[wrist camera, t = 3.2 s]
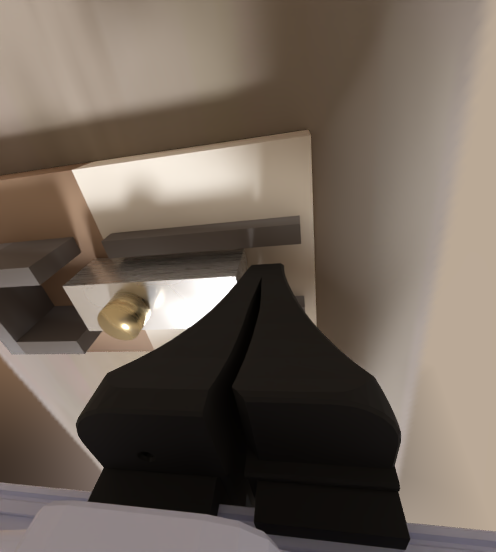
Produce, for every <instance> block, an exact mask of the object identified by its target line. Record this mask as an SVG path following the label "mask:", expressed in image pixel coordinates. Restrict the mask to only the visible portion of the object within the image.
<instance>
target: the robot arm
mask: <svg viewBox="0 0 496 552" xmlns="http://www.w3.org/2000/svg"><path fill="white" fill-rule="evenodd" d="M76 428H77V433H78V436H79V437H80V439H81V441H82V442H83V443H84V445H85V446H86V447H87V448H88V449H89V451H90V452H91V453H92V454H93V455H94V456H95V458H96V459H97V460H98V461H99V462H100V463H101V465H102V466H103V467H104V469H103V471H102V473H101V475H100V477H99V479H98V481H97V483H96V485H95V487H94V489H93V491H92V492H91V491H80V490H70V489H60V488H49V487H39V486H30V485H20V484H9V483H0V552H496V532H495V531H486V530H475V529H465V528H455V527H445V526H435V525H425V524H414V523H406V520H405V516H404V512H403V508H402V505H401V501H400V497H399V493H398V491H399V490H400V485H399V480H398V476H397V473H396V469H395V462H396V458H397V454H398V451H399V447H400V443H401V431H400V428H399V425H398V422H397V419H396V417H395V415H394V412H393V410H392V408H391V406H390V404H389V402H388V400H387V398H386V396H385V394H384V392H383V391H382V389H381V387H380V385H379V384H378V382H377V380H376V379H375V377H373V376H372V375H371V374H369V373H368V372H367V371H365V370H364V369H363V368H361V367H360V366H358V365H357V364H356V363H354V362H353V361H352V360H351V359H349V358H348V357H347V356H346V355H345V354H344V353H342V352H341V351H340V350H339V349H338V348H337V347H336V346H335V345H334V344H333V343H332V342H331V341H330V340H329V339H328V338H327V337H326V336H325V335H324V334H323V333H322V332H321V331H320V330H319V329H318V328H317V327H316V325H315V324H314V323H313V322H312V321H311V319H310V318H309V317H308V315H307V314H306V313H305V311H304V310H303V308H302V307H301V305H300V304H299V302H298V301H297V299H296V297H295V295H294V294H293V292H292V290H291V288H290V286H289V283H288V281H287V278H286V276H285V271H284V265H283V264H281V263H274V264H257V265H251V266H250V267H249V268H248V270H247V271H246V272H245V273H244V274H243V276H242V277H241V278H240V279H239V281H238V282H237V283H236V284H235V285H234V287H233V288H232V289H231V290H230V291H229V292H228V293H227V294H226V296H225V297H224V298H223V299H222V300H221V301H220V302H219V303H218V304H217V305H216V306H215V307H214V308H213V309H212V310H210V311H209V312H208V313H207V314H206V315H205V316H203V317H202V318H201V319H200V320H199V321H197V322H196V323H195V324H193V325H192V326H191V327H189V328H188V329H186V330H185V331H183V332H182V333H181V334H179V335H178V336H176V337H175V338H173V339H172V340H170V341H169V342H167V343H165V344H164V345H162V346H160V347H159V348H157V349H155V350H153V351H151V352H150V353H148V354H146V355H144V356H142V357H140V358H138V359H136V360H134V361H132V362H130V363H128V364H126V365H124V366H122V367H119V368H117V369H115V370H113V371H111V372H109V373H107V374H106V376H105V377H104V379H103V380H102V382H101V383H100V385H99V386H98V388H97V390H96V391H95V393H94V394H93V396H92V397H91V399H90V400H89V402H88V403H87V405H86V407H85V408H84V410H83V411H82V413H81V414H80V416H79V417H78V420H77V422H76Z"/></svg>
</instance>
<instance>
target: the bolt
mask: <svg viewBox="0 0 496 552" xmlns="http://www.w3.org/2000/svg"><path fill="white" fill-rule="evenodd" d="M247 270H248V266H247V260H246V254H245V249H244V248H241V249H228V250H215V251H202V252H189V253H176V254H162V255H149V256H136V257H123V258H110V259H109V257H108V258H95V259H93V260H92V261H91V262H90V263H89V264H88V265H86V266H85V267H84V268H83V269H82V270H81V271H79V272H78V273H77V274H76V275H75V276H74V277H73V278H71V279H70V280H69V281H68V282H67V283H66V284H65V285H63V288H64V290H65V291H66V293H67V295H68V296H69V298H70V300H71V301H72V303H73V305H74V306H75V308H76V310H77V311H78V313H79V315H80V316H81V318H82V320H83V321H84V323H85V325H86V326H87V328H88V330H89V331H104V332H105V333H107V334H108V335H110V336H111V337H113V338H116V339H119V340H126V341H127V340H133V339H135V338H136V337H137V336H138V335H139V333H140V331H141V330H160V329H188V328H189V327H191V326H192V325H193V324H195V323H196V322H197V321H199V320H200V319H201V318H202V317H203V316H205V315H206V314H207V313H208V312H209V311H210V310H212V309H213V308H214V307H215V306H216V305H217V304H218V303H219V302H220V301H221V300H222V299H223V298H224V297H225V296H226V294H227V293H228V292H229V291H230V290H231V289H232V288H233V287H234V285H235V284H236V283H237V282H238V281H239V279H240V278H241V277H242V276H243V274H244V273H245V272H246V271H247Z"/></svg>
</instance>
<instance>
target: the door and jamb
mask: <svg viewBox="0 0 496 552" xmlns="http://www.w3.org/2000/svg"><path fill="white" fill-rule="evenodd" d="M241 248H244V249H245V254H246V260H247V266H248V268H249V267H250V266H251V265H257V264H274V263H281V264H283V265H284V271H285V276H286V278H287V281H288V283H289V286H290V288H291V290H292V292H293V294H294V295H295V297H296V299H297V301H298V302H299V304H300V305H301V307H302V308H303V310H304V311H305V313H306V314H307V315H308V317H309V318H310V319H311V321H312V322H313V323H314V324H315V325H316V327H317V324H316V291H315V258H314V224H313V191H312V158H311V134H310V132H309V130H303V131H296V132H289V133H283V134H276V135H269V136H262V137H256V138H249V139H242V140H236V141H229V142H222V143H215V144H209V145H202V146H195V147H189V148H182V149H175V150H168V151H162V152H155V153H148V154H142V155H135V156H128V157H121V158H115V159H108V160H101V161H95V162H88V163H81V164H74V165H68V166H61V167H54V168H48V169H41V170H34V171H27V172H21V173H14V174H7V175H1V176H0V341H1V342H2V343H3V344H4V346H5V347H6V348H7V349H8V350H9V351H10V353H11V354H85V353H86V352H123V351H153V350H155V349H157V348H159V347H160V346H162V345H164V344H165V343H167V342H169V341H170V340H172V339H173V338H175V337H176V336H178V335H179V334H181V333H182V332H183V331H185V330H186V329H160V330H141V331H140V333H139V335H138V336H137V337H136V338H135V339H133V340H127V341H126V340H119V339H116V338H113V337H111V336H110V335H108V334H107V333H105V332H104V331H89V330H88V328H87V326H86V325H85V323H84V321H83V320H82V318H81V316H80V315H79V313H78V311H77V310H76V308H75V306H74V305H73V303H72V301H71V300H70V298H69V296H68V295H67V293H66V291H65V290H64V288H63V285H65V284H66V283H67V282H68V281H69V280H70V279H71V278H73V277H74V276H75V275H76V274H77V273H78V272H79V271H81V270H82V269H83V268H84V267H85V266H86V265H88V264H89V263H90V262H91V261H92V260H93V259H95V258H108V257H109V259H110V258H123V257H136V256H149V255H162V254H176V253H189V252H202V251H215V250H228V249H241Z"/></svg>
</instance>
